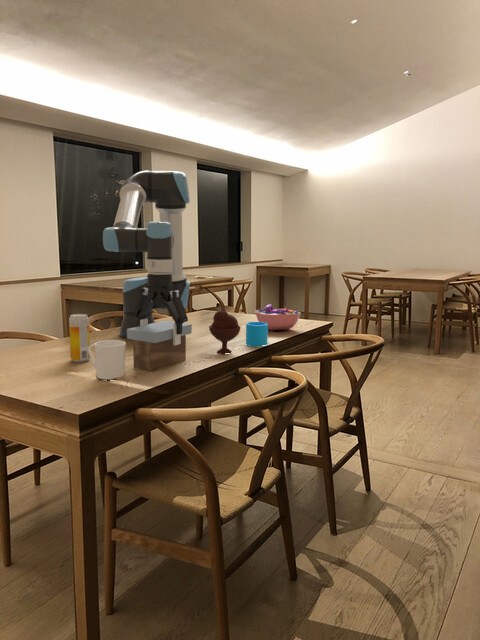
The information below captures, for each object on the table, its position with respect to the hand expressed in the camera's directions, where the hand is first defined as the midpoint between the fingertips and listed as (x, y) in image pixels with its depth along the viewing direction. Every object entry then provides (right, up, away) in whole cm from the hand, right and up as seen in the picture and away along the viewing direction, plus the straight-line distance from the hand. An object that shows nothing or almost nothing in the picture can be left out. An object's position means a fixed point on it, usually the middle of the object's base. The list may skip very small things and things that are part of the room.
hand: (160, 342), depth 167 cm
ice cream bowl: (+19, -5, +22) cm, 30 cm away
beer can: (-27, -7, +8) cm, 29 cm away
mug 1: (-14, -10, -11) cm, 20 cm away
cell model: (+41, +2, +66) cm, 77 cm away
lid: (0, +2, 0) cm, 2 cm away
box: (0, -8, +1) cm, 8 cm away
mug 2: (+32, -3, +38) cm, 50 cm away
